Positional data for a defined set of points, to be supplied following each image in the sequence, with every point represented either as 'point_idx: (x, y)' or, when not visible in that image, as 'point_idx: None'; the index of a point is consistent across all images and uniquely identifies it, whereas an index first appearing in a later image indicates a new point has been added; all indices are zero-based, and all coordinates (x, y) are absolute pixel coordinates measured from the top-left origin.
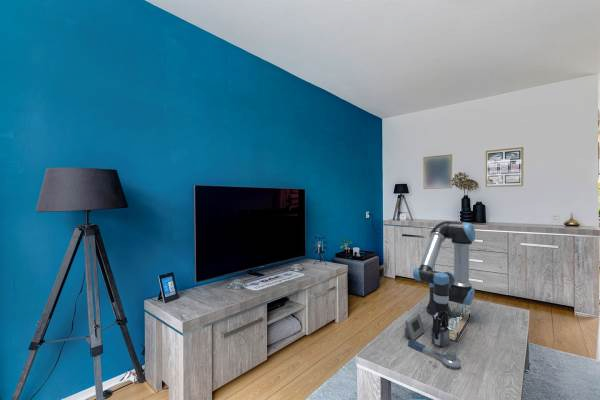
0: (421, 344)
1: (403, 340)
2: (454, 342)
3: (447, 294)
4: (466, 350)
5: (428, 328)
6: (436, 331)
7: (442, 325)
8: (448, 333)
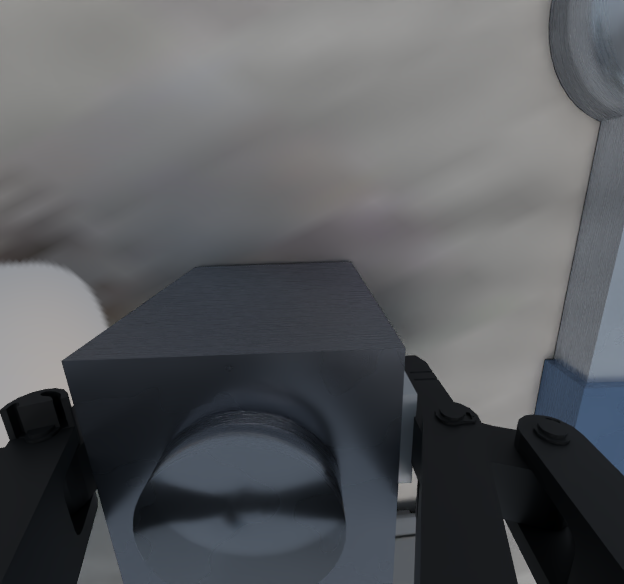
0: (592, 425)
1: (519, 549)
2: (94, 246)
3: None
4: (135, 38)
5: (93, 541)
6: (620, 477)
7: (79, 537)
8: (161, 317)
